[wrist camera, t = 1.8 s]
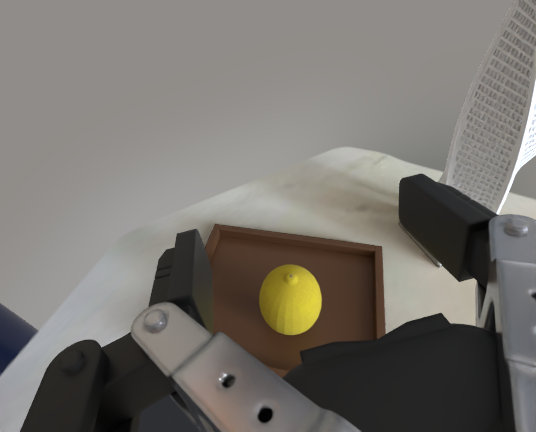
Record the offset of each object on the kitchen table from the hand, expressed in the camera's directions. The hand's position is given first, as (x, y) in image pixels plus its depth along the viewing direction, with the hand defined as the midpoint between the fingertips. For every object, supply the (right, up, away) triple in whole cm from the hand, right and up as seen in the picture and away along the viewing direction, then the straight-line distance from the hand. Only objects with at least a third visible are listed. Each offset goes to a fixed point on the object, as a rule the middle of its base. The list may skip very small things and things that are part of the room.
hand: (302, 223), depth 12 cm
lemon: (+1, -10, +19) cm, 22 cm away
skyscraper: (+19, -3, +25) cm, 32 cm away
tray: (0, -9, +21) cm, 22 cm away
